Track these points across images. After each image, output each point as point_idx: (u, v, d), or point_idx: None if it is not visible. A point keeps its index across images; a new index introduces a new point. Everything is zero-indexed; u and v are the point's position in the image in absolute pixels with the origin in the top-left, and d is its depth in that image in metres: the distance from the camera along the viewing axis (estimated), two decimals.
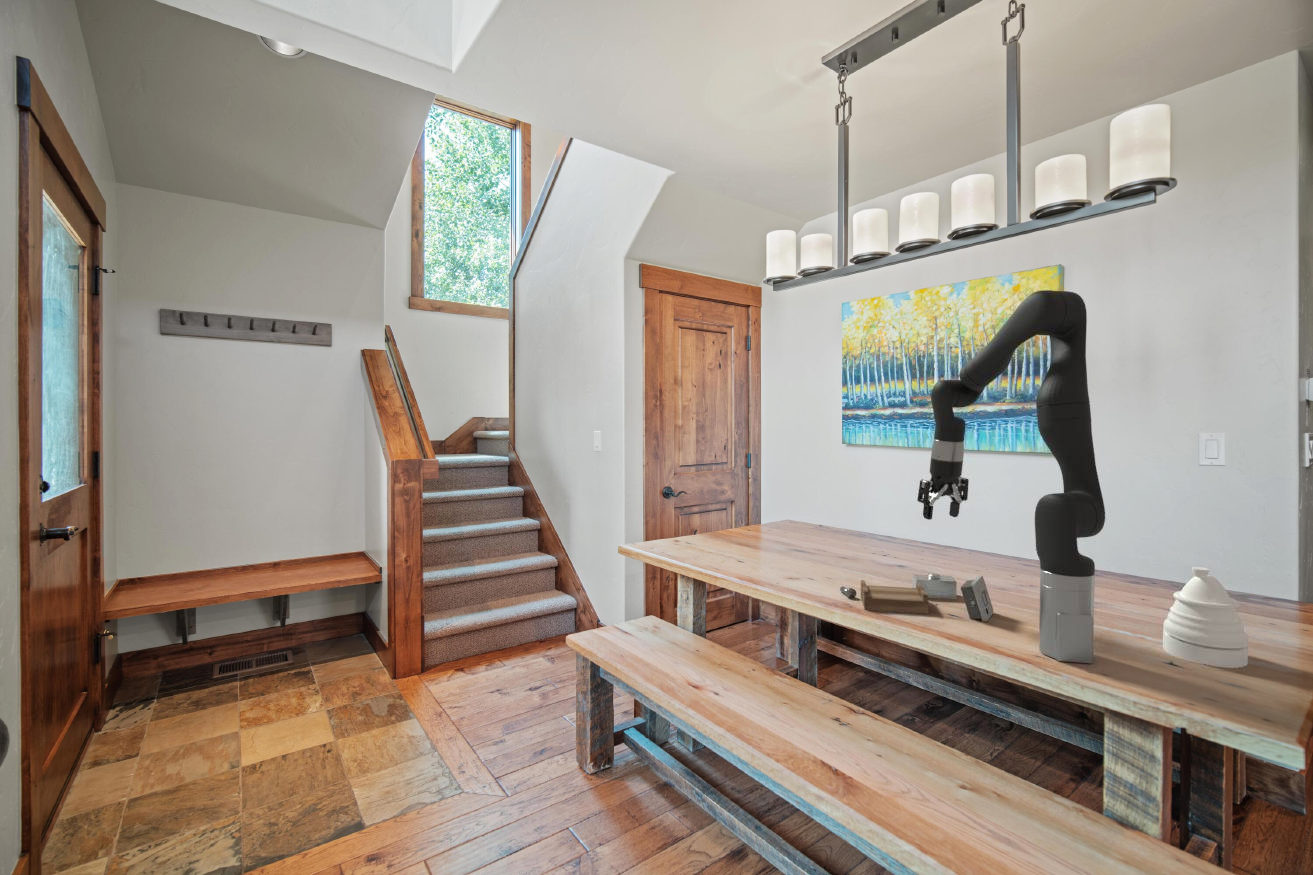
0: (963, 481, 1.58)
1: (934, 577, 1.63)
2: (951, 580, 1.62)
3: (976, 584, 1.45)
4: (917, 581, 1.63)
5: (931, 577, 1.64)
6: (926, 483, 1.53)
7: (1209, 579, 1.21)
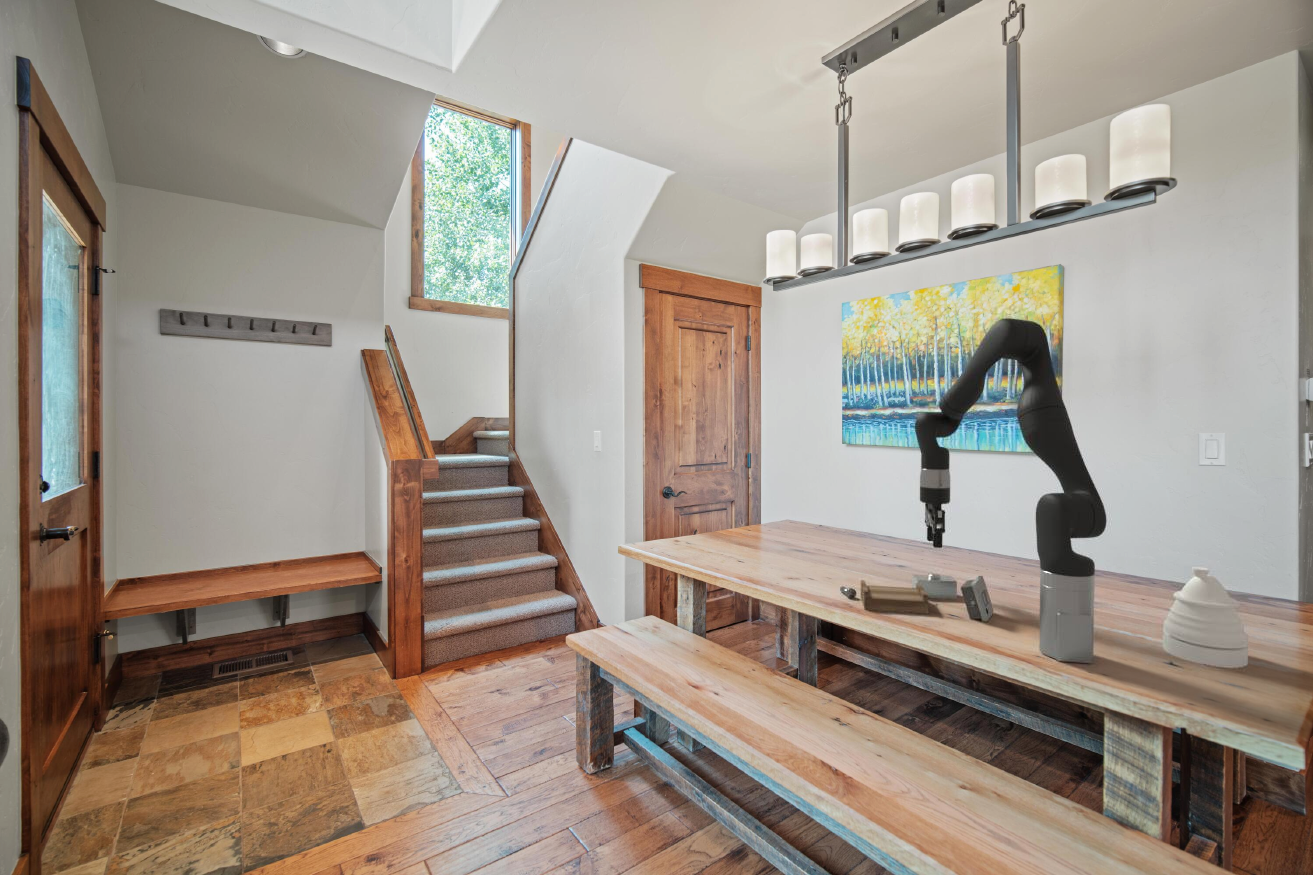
0: None
1: (934, 577, 1.63)
2: (951, 580, 1.62)
3: (976, 584, 1.45)
4: (918, 581, 1.63)
5: (931, 577, 1.64)
6: (943, 512, 1.57)
7: (1209, 579, 1.21)
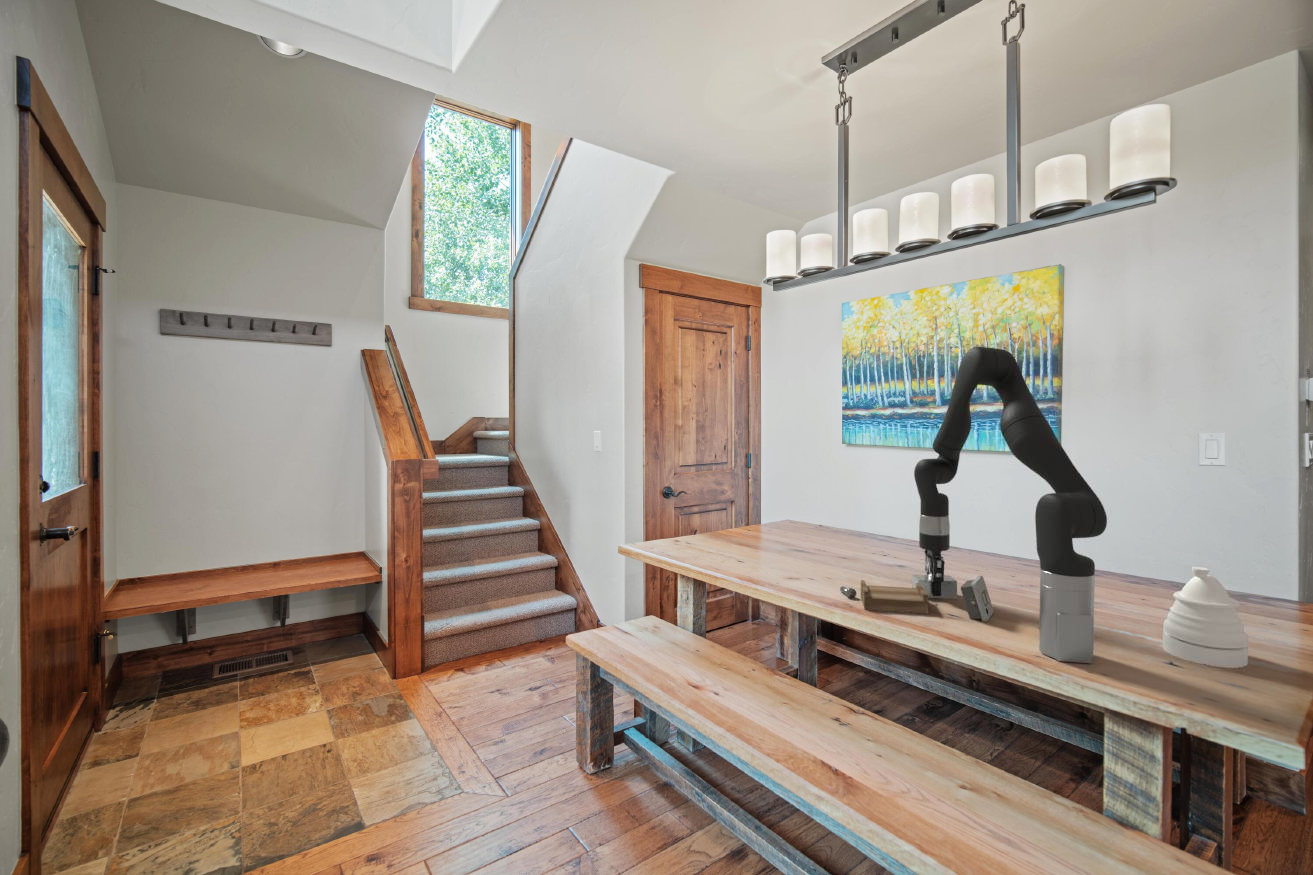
0: None
1: None
2: (951, 580, 1.62)
3: (976, 584, 1.45)
4: (919, 582, 1.63)
5: None
6: (943, 563, 1.58)
7: (1209, 579, 1.21)
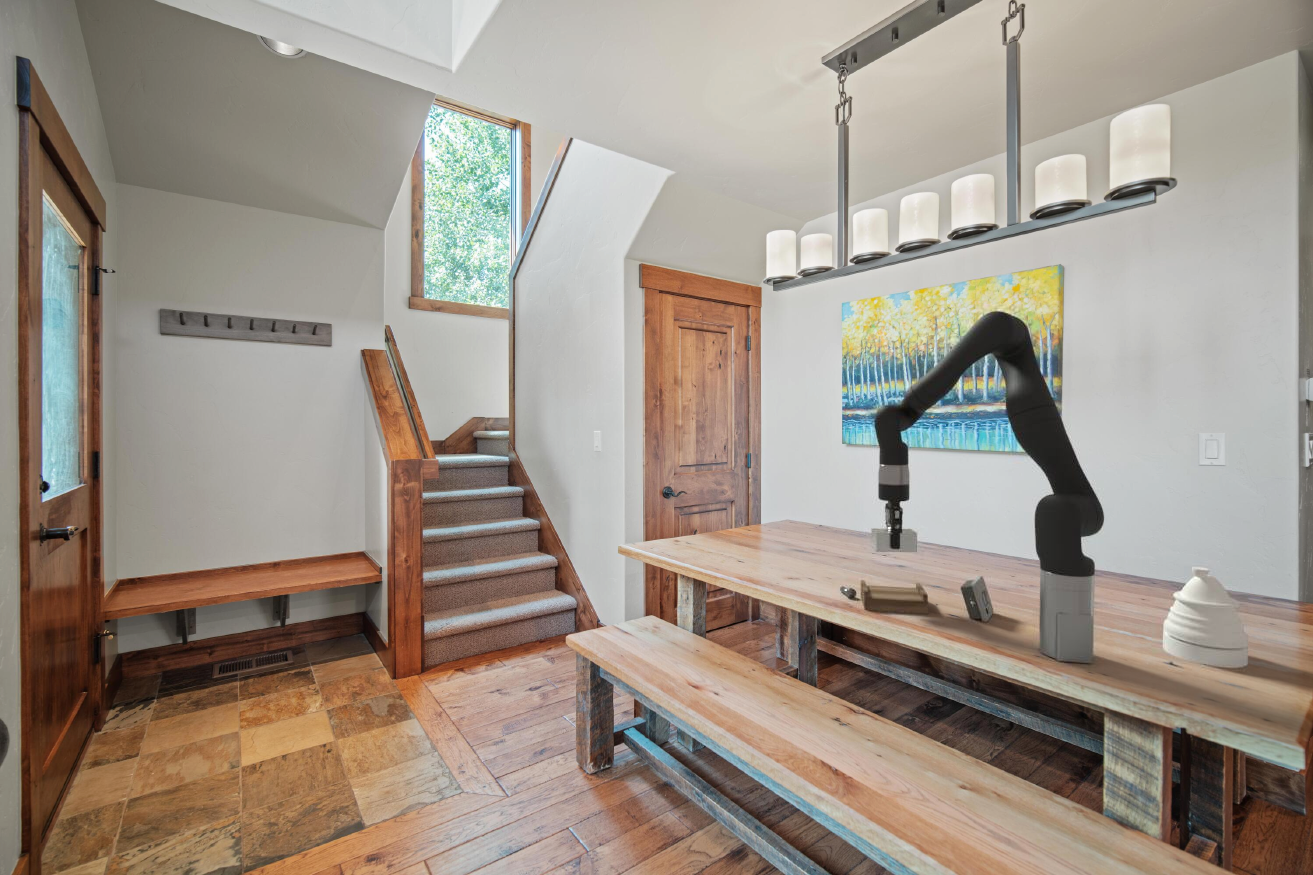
0: None
1: None
2: (911, 532, 1.54)
3: (976, 584, 1.45)
4: (877, 534, 1.54)
5: None
6: (901, 513, 1.50)
7: (1209, 579, 1.21)
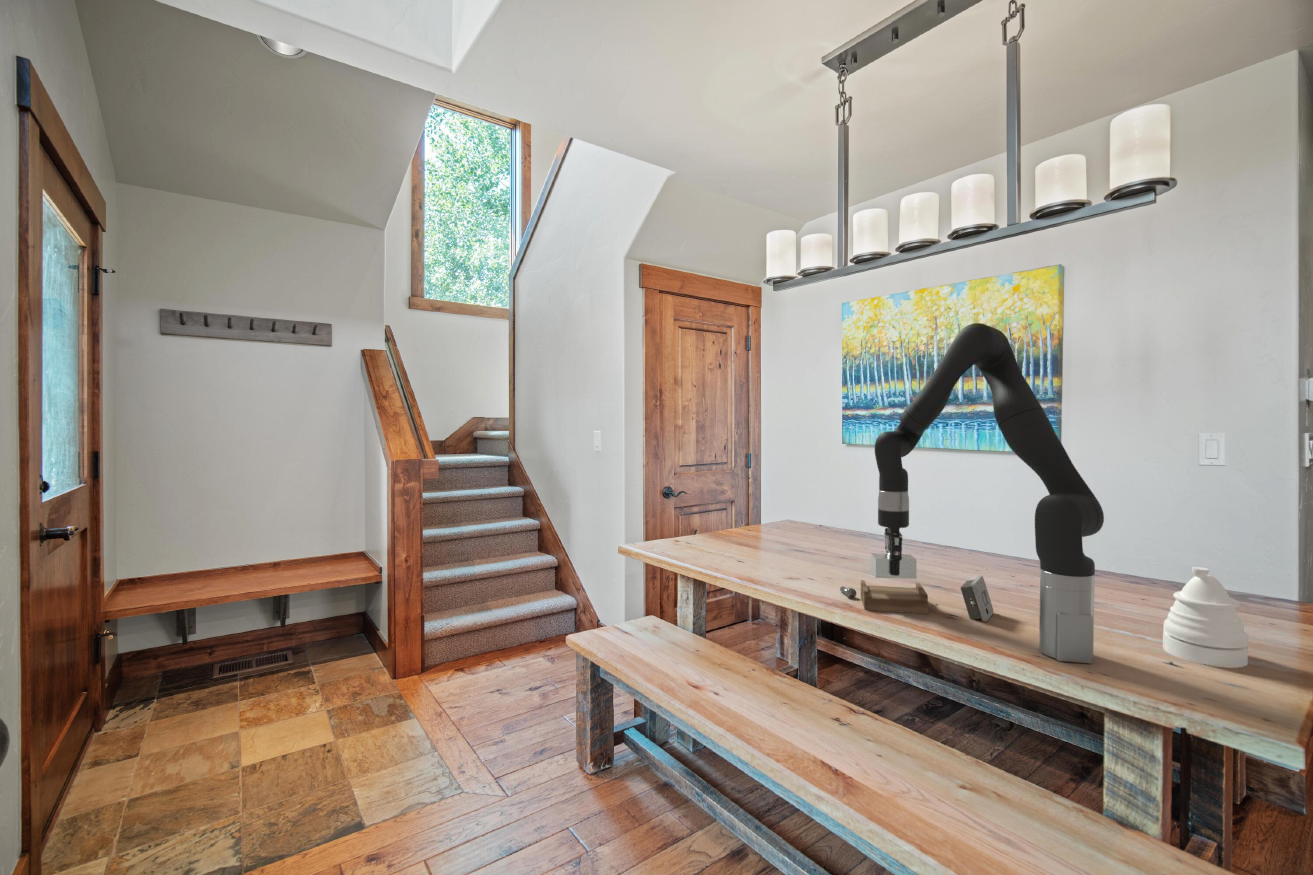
0: None
1: None
2: (911, 558, 1.54)
3: (976, 584, 1.45)
4: (876, 560, 1.55)
5: None
6: (900, 540, 1.50)
7: (1209, 579, 1.21)
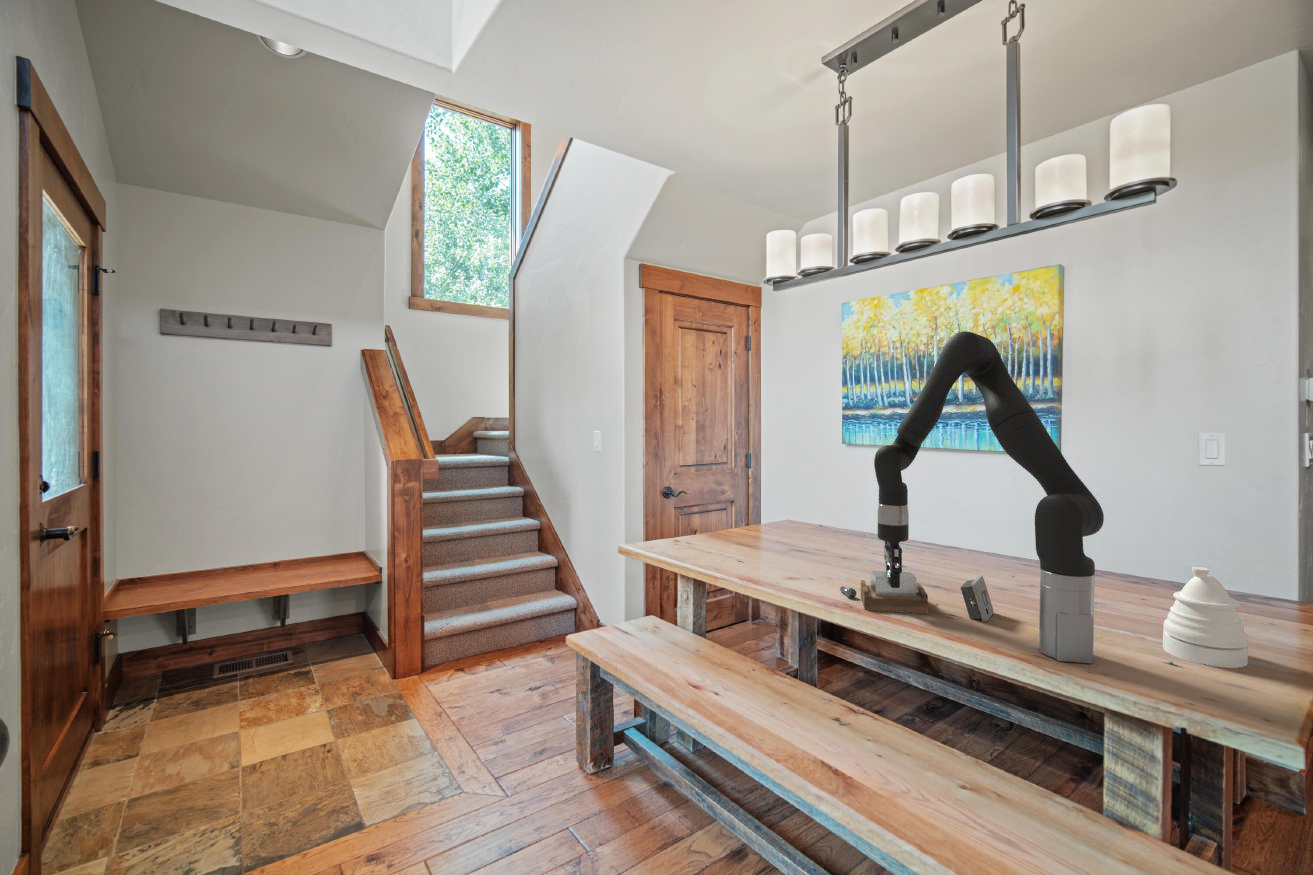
0: None
1: None
2: (911, 576, 1.54)
3: (976, 584, 1.45)
4: (876, 578, 1.55)
5: None
6: (900, 551, 1.50)
7: (1209, 579, 1.21)
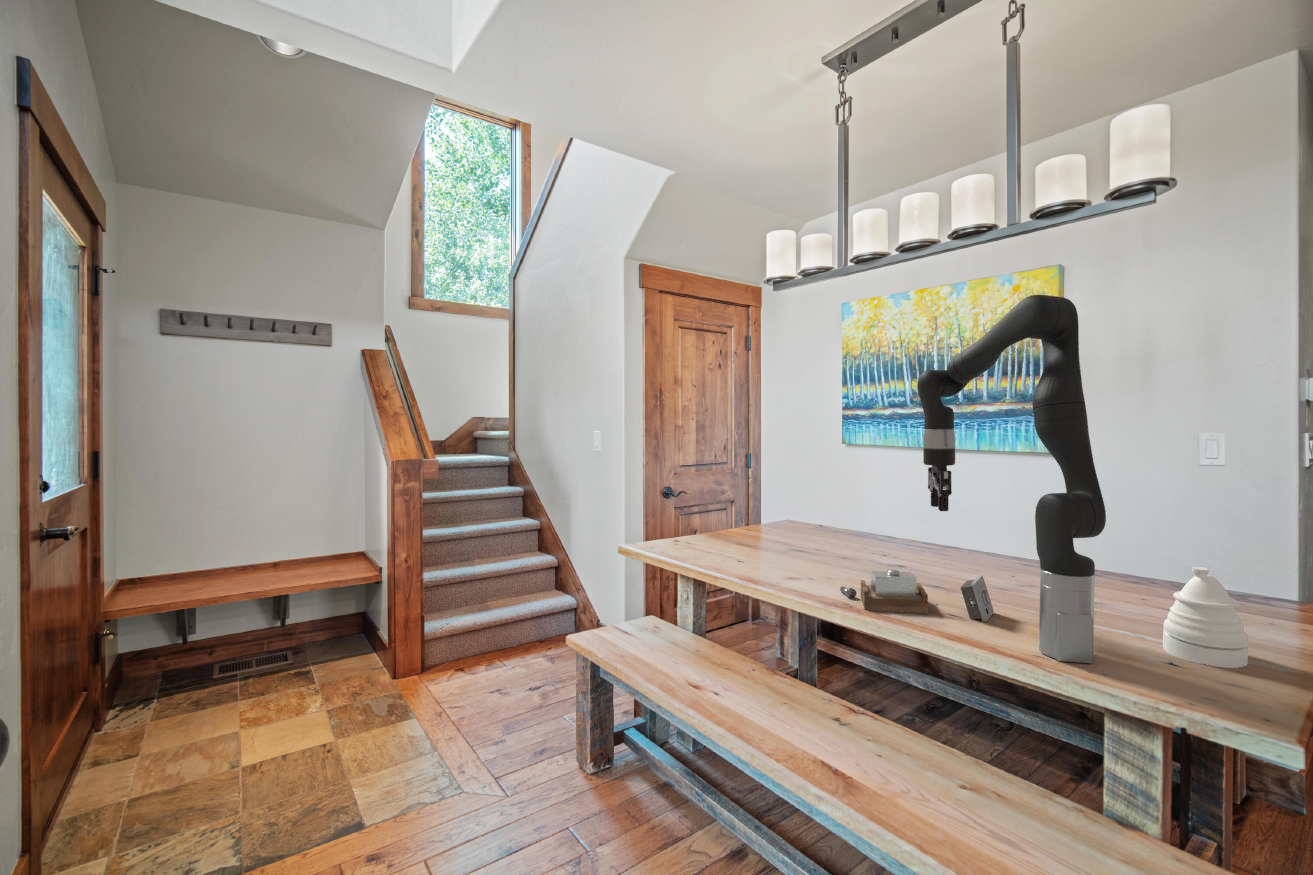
0: None
1: (893, 573, 1.55)
2: (911, 576, 1.54)
3: (976, 584, 1.45)
4: (876, 578, 1.55)
5: (890, 573, 1.56)
6: (950, 473, 1.50)
7: (1209, 579, 1.21)
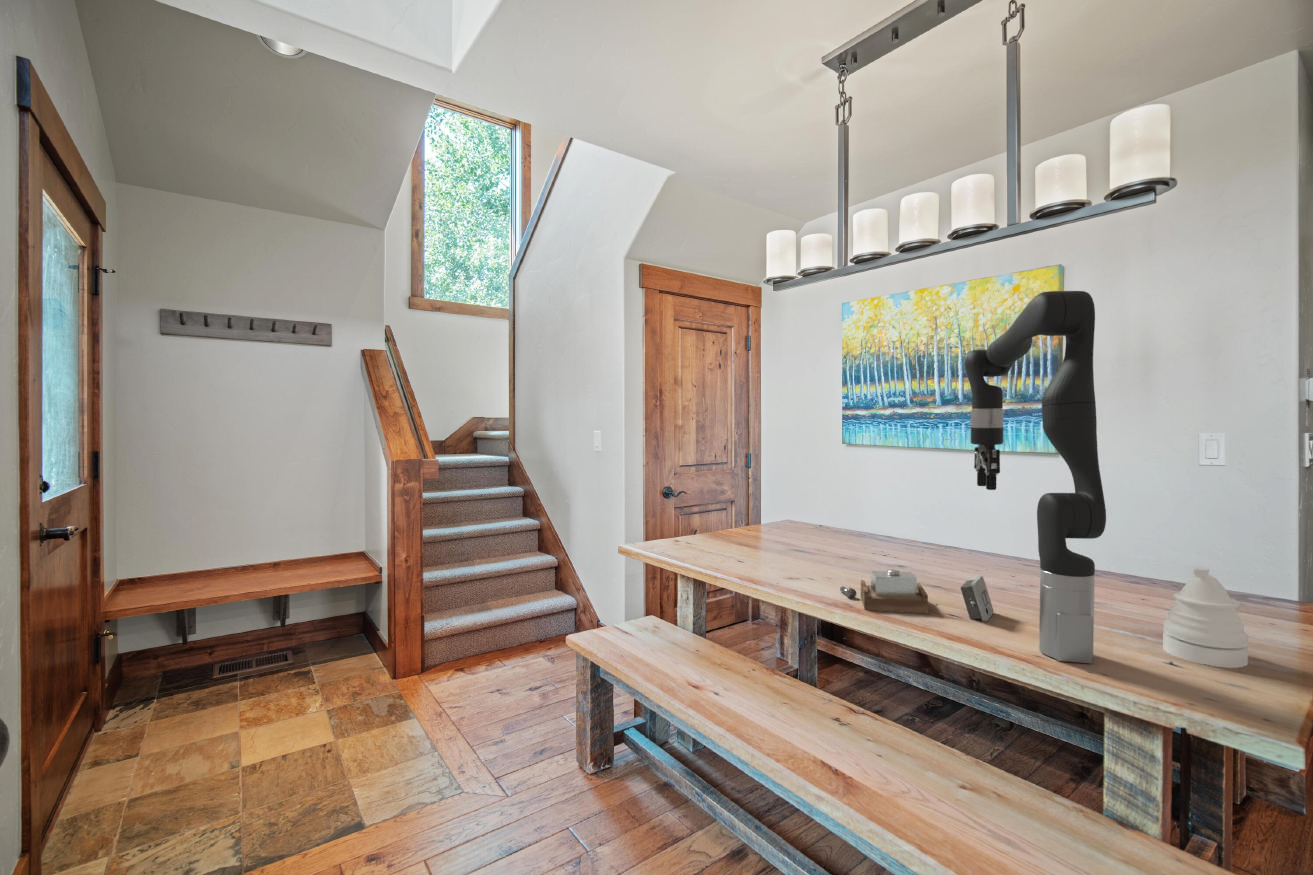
0: None
1: (893, 573, 1.55)
2: (911, 576, 1.54)
3: (976, 584, 1.45)
4: (876, 578, 1.55)
5: (890, 573, 1.56)
6: (998, 451, 1.51)
7: (1209, 579, 1.21)
